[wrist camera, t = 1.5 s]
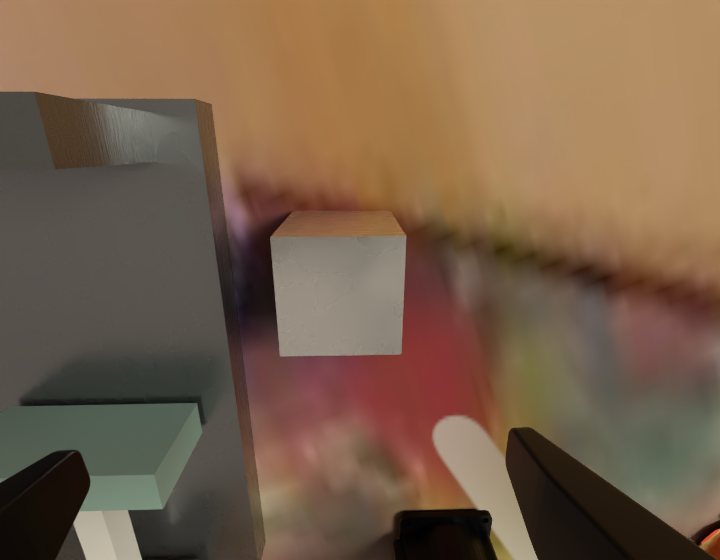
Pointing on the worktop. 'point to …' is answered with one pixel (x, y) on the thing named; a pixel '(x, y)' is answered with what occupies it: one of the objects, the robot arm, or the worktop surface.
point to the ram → (107, 461)
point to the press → (129, 296)
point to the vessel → (712, 544)
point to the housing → (339, 283)
